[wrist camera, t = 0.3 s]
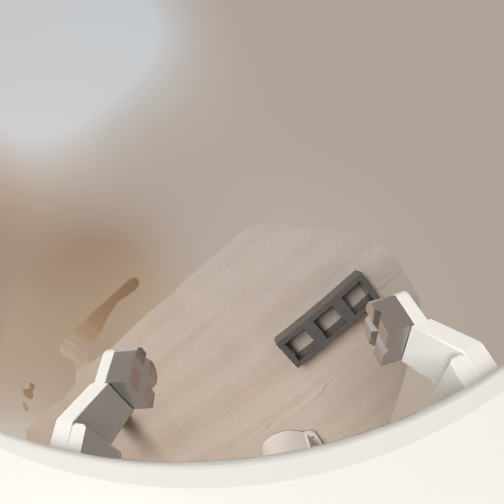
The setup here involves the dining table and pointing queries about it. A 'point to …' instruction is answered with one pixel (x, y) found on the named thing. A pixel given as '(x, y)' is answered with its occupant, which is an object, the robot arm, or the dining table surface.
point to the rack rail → (329, 300)
